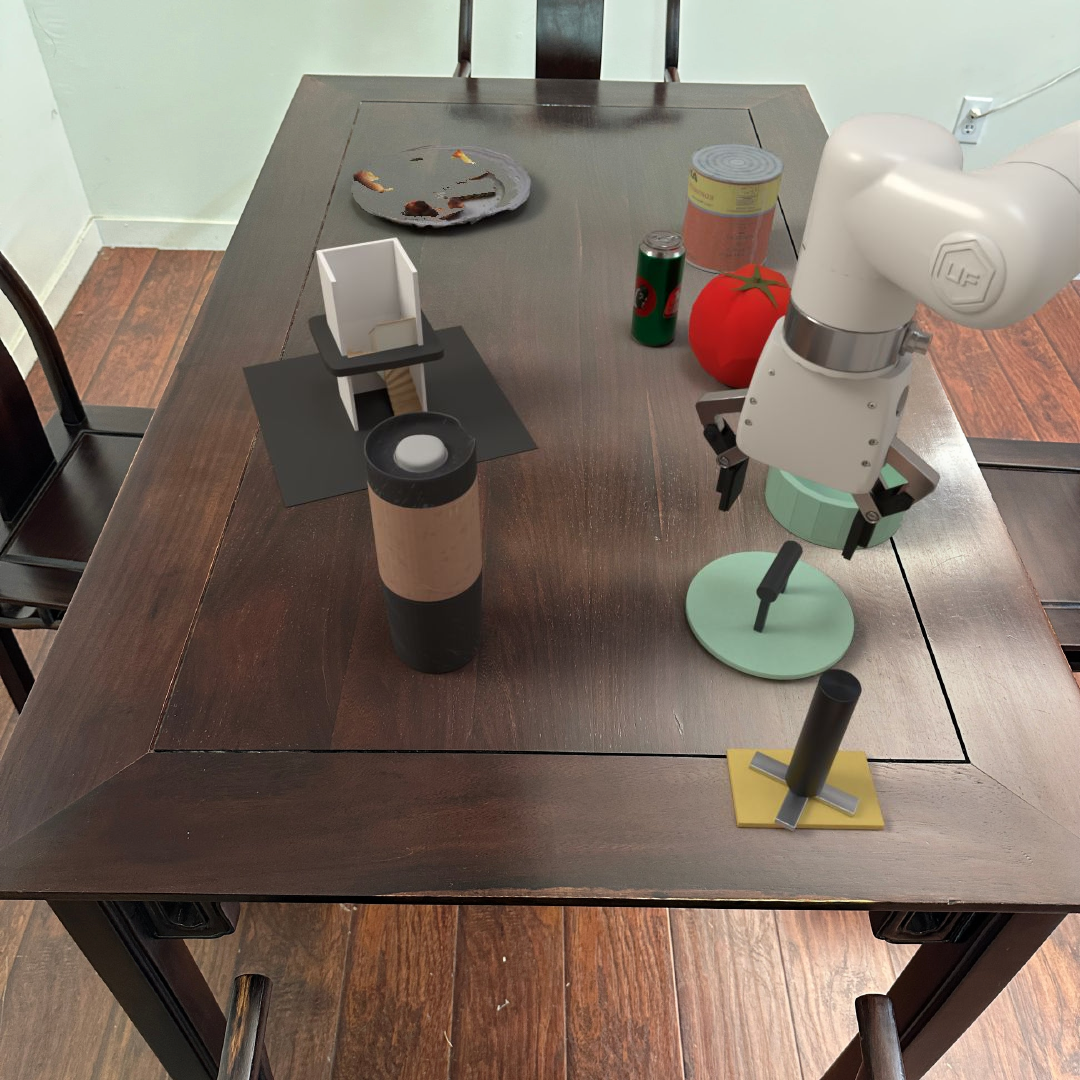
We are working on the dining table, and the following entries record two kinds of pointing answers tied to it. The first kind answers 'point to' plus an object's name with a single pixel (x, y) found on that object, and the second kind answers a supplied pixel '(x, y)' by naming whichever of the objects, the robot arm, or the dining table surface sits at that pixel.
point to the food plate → (474, 203)
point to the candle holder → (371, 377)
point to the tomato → (736, 321)
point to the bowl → (823, 508)
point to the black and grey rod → (816, 750)
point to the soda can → (658, 287)
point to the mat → (765, 796)
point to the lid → (770, 614)
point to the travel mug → (427, 537)
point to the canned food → (730, 206)
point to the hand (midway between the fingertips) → (789, 523)
